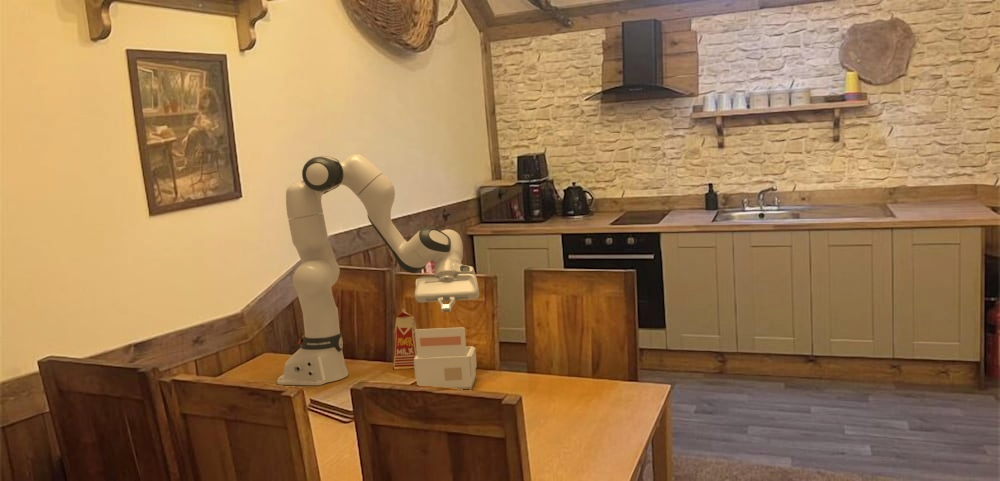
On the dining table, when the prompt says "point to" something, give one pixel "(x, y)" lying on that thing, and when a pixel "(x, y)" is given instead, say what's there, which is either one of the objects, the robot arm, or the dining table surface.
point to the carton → (447, 370)
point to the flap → (440, 342)
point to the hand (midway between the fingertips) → (446, 310)
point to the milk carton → (404, 340)
